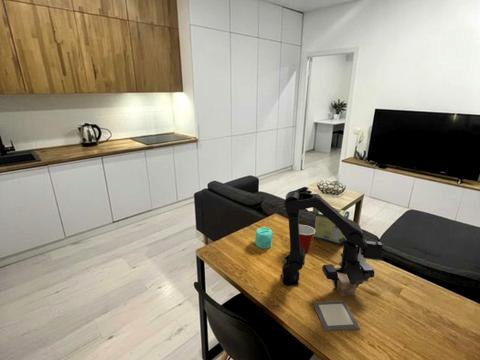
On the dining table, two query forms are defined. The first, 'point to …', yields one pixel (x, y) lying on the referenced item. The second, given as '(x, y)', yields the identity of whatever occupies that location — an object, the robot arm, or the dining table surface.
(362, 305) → the dining table surface
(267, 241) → the turquoise cylinder
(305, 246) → the plastic cup
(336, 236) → the protein box
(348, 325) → the coaster
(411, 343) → the dining table surface
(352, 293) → the cube
